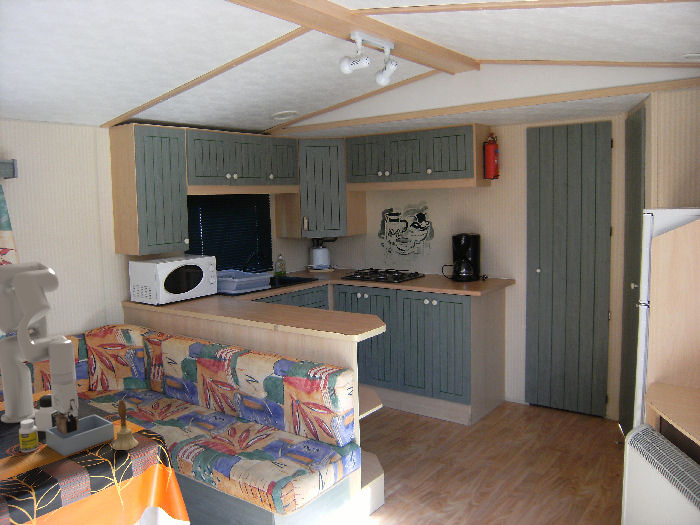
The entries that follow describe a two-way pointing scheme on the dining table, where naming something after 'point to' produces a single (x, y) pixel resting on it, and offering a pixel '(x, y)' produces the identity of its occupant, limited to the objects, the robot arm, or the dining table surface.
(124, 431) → the hand bell
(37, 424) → the medicine bottle
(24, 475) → the dining table surface
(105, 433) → the tote
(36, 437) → the supplement bottle
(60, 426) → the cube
